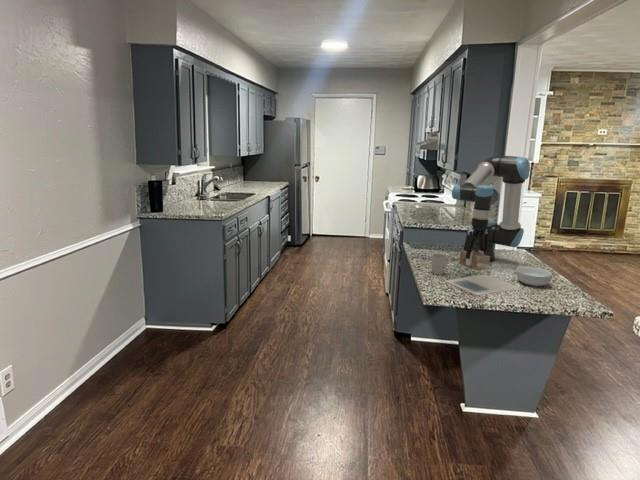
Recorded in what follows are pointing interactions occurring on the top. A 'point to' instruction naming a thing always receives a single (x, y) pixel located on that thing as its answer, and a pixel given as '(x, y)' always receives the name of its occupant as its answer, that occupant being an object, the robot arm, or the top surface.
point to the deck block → (475, 260)
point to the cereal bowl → (533, 276)
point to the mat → (481, 284)
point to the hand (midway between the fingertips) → (473, 264)
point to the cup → (438, 263)
